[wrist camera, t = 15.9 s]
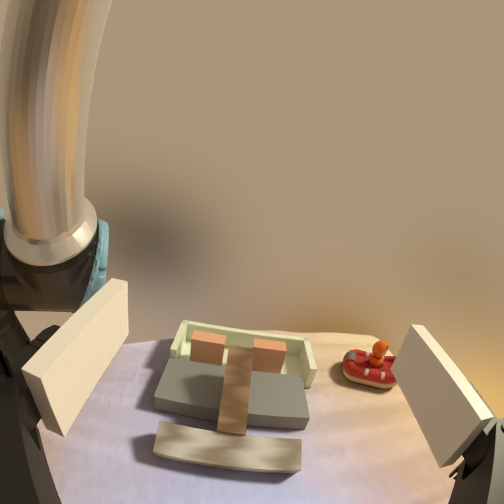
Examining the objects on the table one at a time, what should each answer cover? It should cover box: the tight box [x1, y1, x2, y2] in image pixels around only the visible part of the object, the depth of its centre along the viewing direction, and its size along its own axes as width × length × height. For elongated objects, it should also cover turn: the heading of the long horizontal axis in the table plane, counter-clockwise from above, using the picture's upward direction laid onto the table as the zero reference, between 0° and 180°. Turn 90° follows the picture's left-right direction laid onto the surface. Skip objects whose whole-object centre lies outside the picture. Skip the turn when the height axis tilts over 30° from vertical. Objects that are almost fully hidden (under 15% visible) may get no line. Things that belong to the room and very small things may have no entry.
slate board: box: [153, 357, 310, 429], centre depth 38 cm, size 20×9×2 cm, turn 89°
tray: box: [170, 320, 317, 388], centre depth 46 cm, size 22×9×4 cm, turn 89°
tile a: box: [190, 330, 226, 366], centre depth 44 cm, size 5×5×2 cm
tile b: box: [252, 338, 287, 374], centre depth 45 cm, size 5×5×2 cm
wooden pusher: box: [153, 345, 302, 473], centre depth 32 cm, size 16×3×16 cm
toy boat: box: [343, 341, 397, 388], centre depth 46 cm, size 8×12×8 cm, turn 70°
